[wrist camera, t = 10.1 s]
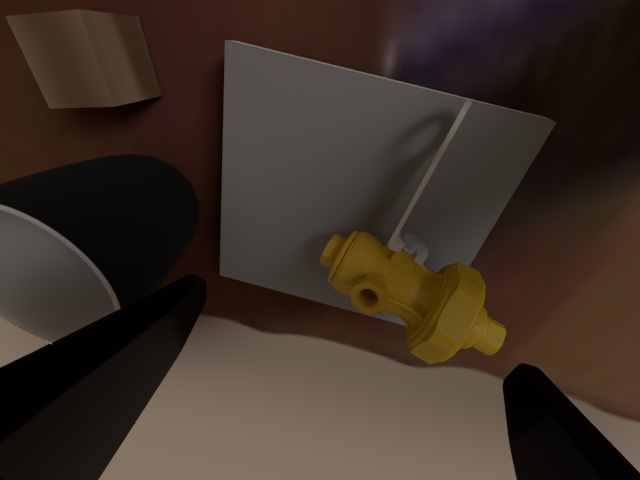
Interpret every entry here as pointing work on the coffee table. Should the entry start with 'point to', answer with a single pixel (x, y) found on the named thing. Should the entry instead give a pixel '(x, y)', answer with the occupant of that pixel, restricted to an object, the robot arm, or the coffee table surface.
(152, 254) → the mug
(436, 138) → the stand
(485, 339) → the pressure relief valve
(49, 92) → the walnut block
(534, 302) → the coffee table surface
